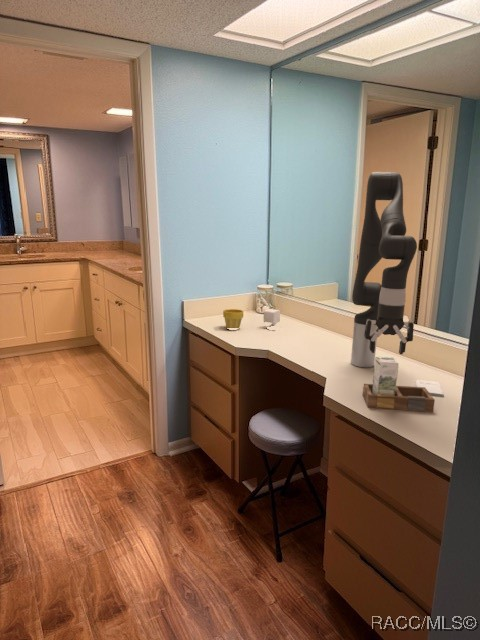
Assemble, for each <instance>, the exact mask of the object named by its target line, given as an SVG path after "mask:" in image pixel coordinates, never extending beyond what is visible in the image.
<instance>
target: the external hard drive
mask: <svg viewBox="0 0 480 640" xmlns="http://www.w3.org/2000/svg"><path fill="white" fill-rule="evenodd" d="M414 382H415V387H425V388H426V389H427V391H428V392H429V393H430V394H431V396H432V397H433V396H434V397H440V398H441V397H442V398H445V394H444V391H443V389H442V388H443V387H442V386H441V383H440V382H439V381H435V380H434V381H433V380H424V379H415V380H414Z"/></svg>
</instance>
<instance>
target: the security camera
mask: <svg viewBox="0 0 480 640" xmlns="http://www.w3.org/2000/svg"><path fill="white" fill-rule="evenodd" d="M280 318H281V310H280V309H275V308H266V309H265V310H263V322H264V323H269V324H270V325H269V327H271V326H276V324H277V323H280Z"/></svg>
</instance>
